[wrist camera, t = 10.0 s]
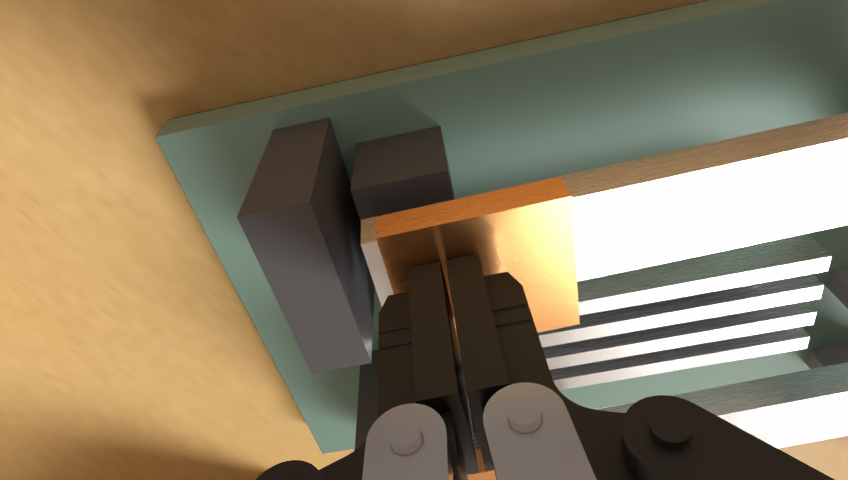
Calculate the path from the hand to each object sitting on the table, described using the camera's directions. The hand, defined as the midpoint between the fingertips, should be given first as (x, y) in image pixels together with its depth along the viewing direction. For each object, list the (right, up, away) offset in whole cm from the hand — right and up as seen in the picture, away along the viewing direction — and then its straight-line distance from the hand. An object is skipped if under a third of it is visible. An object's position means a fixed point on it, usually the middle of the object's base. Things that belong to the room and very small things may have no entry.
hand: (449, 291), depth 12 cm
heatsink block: (+4, 0, +6) cm, 8 cm away
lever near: (+6, +2, +1) cm, 7 cm away
